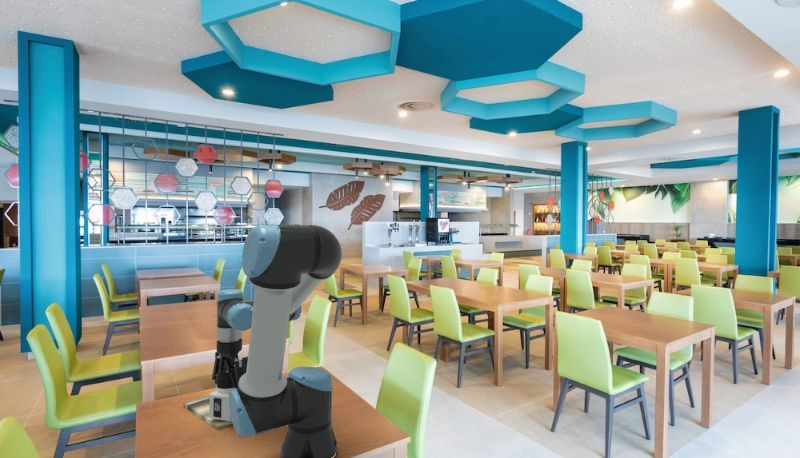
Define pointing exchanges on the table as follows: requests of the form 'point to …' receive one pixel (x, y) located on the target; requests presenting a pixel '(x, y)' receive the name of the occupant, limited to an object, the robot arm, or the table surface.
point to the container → (221, 398)
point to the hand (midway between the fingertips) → (228, 408)
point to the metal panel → (205, 411)
